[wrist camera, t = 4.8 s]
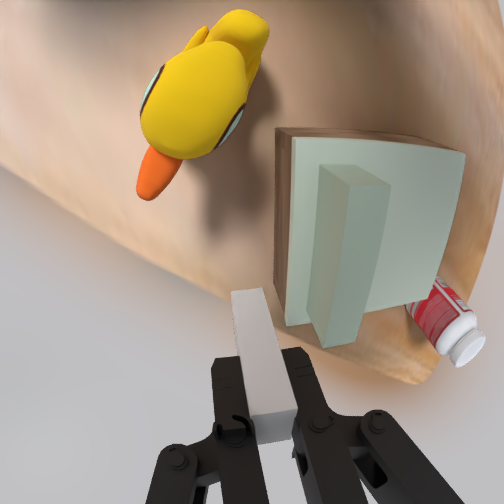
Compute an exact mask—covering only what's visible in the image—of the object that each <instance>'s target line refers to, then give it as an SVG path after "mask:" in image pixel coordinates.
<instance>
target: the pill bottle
mask: <svg viewBox="0 0 504 504" xmlns="http://www.w3.org/2000/svg"><path fill="white" fill-rule="evenodd" d="M406 308H407V311H408V312H409V314H410V315H411V316H412V318H413V319H414V320H415V322H416V323H417V324H418V326H419V327H420V328H421V330H422V331H423V333H424V334H425V335H426V337H427V338H428V339H429V341H430V342H431V344H432V345H433V346H434V348H435V349H436V350H437V352H438V353H439V354H441V355H450V360H451V361H452V363H453V364H454V365H455V366H456V367H461V366H463V365H465V364H466V363H467V362H469V361H470V360H471V359H472V358H473V357H474V356H475V355H476V354H477V353H478V352H479V351H480V349H481V348H482V347H483V345H484V343H485V340H486V337H485V336H484V334H483V333H482V332H481V330H479V329H476V327H477V317H476V315H475V314H474V312H473V311H472V310H471V309H470V308H469V307H468V306H467V305H466V304H465V303H464V302H463V300H462V299H461V298H460V297H459V296H458V295H457V294H456V293H455V292H454V291H453V290H452V289H451V288H450V287H449V286H448V285H447V284H446V283H445V282H444V281H443V280H442V279H441V278H440V277H439V276H436V278H435V280H434V283H433V286H432V289H431V291H430V294H429V296H428V299H424V300H420V301H416V302H412V303H408V304H406Z"/></svg>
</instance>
